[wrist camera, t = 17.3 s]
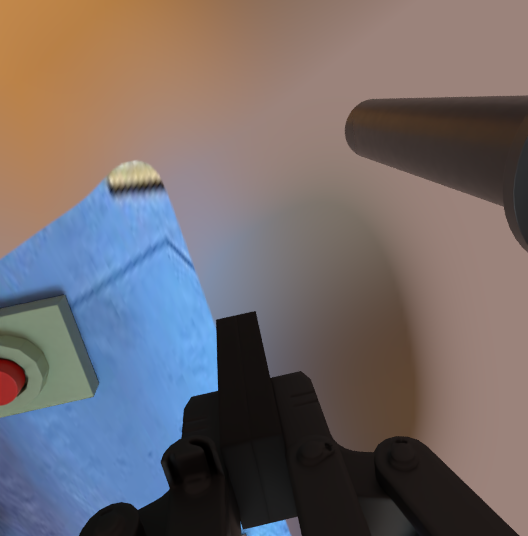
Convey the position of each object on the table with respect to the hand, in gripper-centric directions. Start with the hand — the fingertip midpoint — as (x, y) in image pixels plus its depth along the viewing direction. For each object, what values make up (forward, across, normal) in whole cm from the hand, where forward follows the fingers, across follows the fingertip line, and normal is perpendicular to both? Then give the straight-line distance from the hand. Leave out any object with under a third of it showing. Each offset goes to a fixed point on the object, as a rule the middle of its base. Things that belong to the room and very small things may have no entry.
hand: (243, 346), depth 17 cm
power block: (+24, -22, -10) cm, 34 cm away
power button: (+21, -22, -10) cm, 32 cm away
